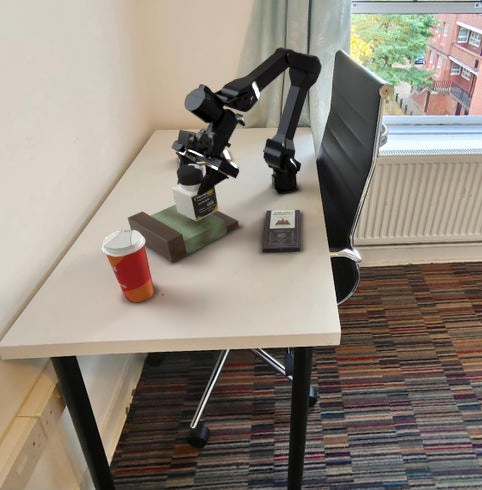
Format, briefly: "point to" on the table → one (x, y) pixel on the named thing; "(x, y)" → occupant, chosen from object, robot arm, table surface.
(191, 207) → the medicine bottle
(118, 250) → the paper cup
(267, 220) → the chocolate bar
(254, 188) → the table surface
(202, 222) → the step shelf
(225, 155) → the cell phone
